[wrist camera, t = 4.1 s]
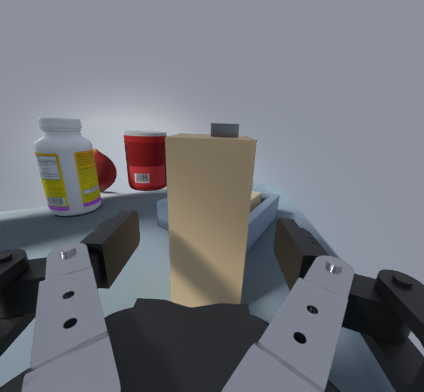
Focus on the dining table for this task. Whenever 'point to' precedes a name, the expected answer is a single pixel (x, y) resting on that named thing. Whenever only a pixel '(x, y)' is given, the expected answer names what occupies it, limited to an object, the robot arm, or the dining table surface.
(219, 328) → the robot arm
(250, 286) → the dining table surface
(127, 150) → the canned food
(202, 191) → the carton
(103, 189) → the onion
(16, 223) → the dining table surface
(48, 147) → the supplement bottle
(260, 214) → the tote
